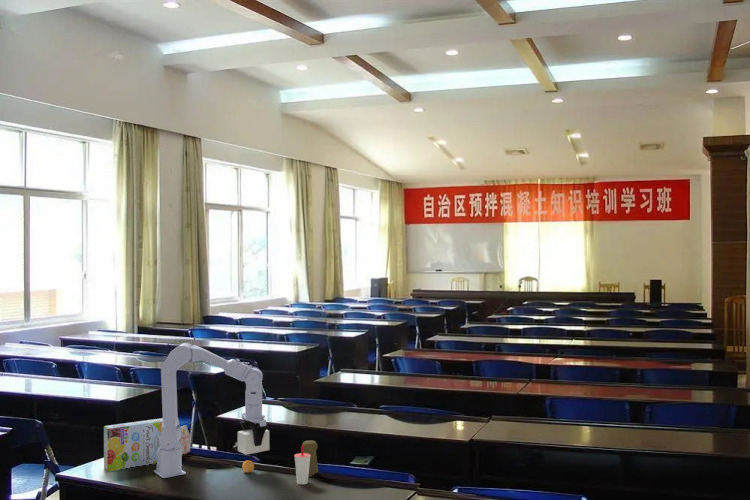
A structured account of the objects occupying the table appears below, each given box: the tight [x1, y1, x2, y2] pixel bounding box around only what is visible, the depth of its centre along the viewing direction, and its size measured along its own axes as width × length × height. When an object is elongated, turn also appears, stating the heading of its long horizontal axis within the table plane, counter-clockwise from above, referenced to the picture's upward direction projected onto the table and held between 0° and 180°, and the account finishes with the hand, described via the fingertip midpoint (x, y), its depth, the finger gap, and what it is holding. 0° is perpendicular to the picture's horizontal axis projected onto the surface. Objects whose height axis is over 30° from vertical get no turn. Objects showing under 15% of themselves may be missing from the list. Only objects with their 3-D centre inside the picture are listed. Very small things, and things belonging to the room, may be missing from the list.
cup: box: [293, 445, 311, 485], centre depth 223 cm, size 5×5×12 cm
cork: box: [301, 439, 319, 477], centre depth 233 cm, size 6×6×11 cm
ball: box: [241, 460, 255, 474], centre depth 234 cm, size 4×4×4 cm
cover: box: [237, 429, 270, 456], centre depth 236 cm, size 6×9×7 cm, turn 127°
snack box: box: [103, 417, 163, 473], centre depth 242 cm, size 21×6×15 cm, turn 124°
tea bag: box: [179, 424, 191, 456], centre depth 257 cm, size 4×7×10 cm, turn 163°
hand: (253, 443), depth 236 cm, fingers closed on cover, 6 cm apart
